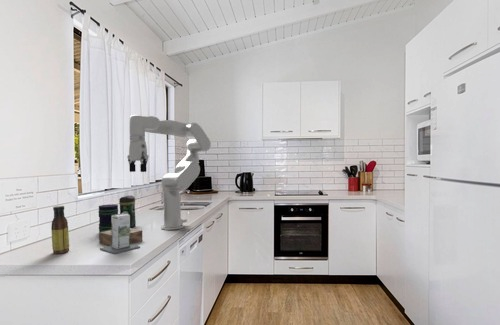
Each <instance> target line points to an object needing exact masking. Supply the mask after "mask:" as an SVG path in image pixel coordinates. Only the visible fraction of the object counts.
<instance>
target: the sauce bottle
mask: <svg viewBox="0 0 500 325" xmlns="http://www.w3.org/2000/svg"><path fill="white" fill-rule="evenodd" d="M52 208H53V219H52V222H51V243H52V244H51V246H52V248H51V249H52V252H53V254H55V255H60V254H65V253H68V252H70V237H69V225H68V224H69V223H68V219H67V218H66V217H65V206H64V205H55V206H53V207H52Z"/></svg>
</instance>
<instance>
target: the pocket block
mask: <svg viewBox="0 0 500 325" xmlns="http://www.w3.org/2000/svg"><path fill="white" fill-rule="evenodd" d="M98 234H99V236H98V237H99V244H103V245H105V246H112V230H109V231H104V232H98ZM139 242H143V230H141V229H136V228H133V227H131V228H130V244H135V243H139Z"/></svg>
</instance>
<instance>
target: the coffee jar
mask: <svg viewBox="0 0 500 325" xmlns="http://www.w3.org/2000/svg"><path fill="white" fill-rule="evenodd" d="M118 203H119V214H128V215H130V228H134V227H135V226H136V225H137V223H136V221H137V220H136V198H135V196H133V195H124V196H121V197H120V198H119V202H118Z"/></svg>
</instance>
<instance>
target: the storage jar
mask: <svg viewBox="0 0 500 325" xmlns="http://www.w3.org/2000/svg"><path fill="white" fill-rule="evenodd" d="M117 214H119V205H118V204H113V203H111V204H102V205H98V217H99V222H98V223H99V224H98V231H99V232H104V231H109V230H112V223H111V216H112V215H117ZM99 232H98V233H99Z"/></svg>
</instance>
